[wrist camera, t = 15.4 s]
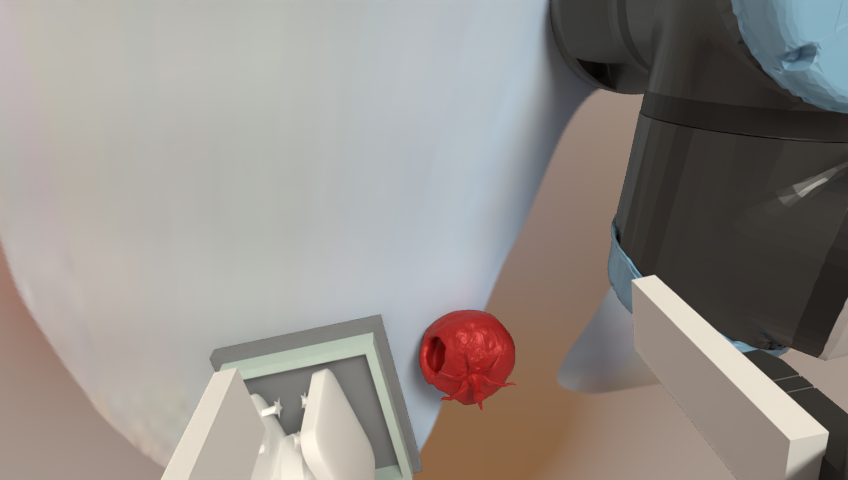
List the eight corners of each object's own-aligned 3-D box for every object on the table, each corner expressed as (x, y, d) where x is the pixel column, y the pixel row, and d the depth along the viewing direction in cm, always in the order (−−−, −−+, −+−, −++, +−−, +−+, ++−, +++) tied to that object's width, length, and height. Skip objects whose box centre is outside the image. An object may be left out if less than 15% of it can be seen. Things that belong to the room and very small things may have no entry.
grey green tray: (380, 314, 51) (380, 333, 47) (421, 461, 60) (423, 486, 56) (214, 349, 51) (202, 371, 48) (279, 491, 60) (273, 517, 56)
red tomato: (498, 287, 51) (524, 337, 42) (511, 362, 55) (537, 421, 46) (407, 309, 51) (414, 364, 42) (427, 383, 55) (437, 446, 46)
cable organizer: (380, 453, 56) (379, 551, 46) (296, 479, 57) (277, 582, 46) (329, 356, 50) (315, 443, 40) (236, 386, 51) (198, 480, 40)
